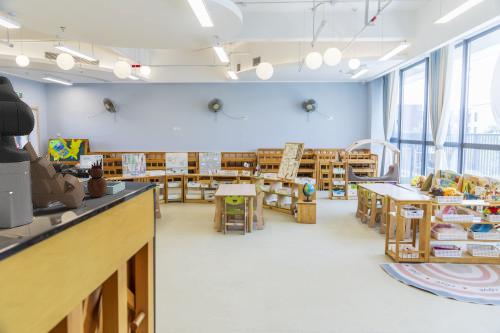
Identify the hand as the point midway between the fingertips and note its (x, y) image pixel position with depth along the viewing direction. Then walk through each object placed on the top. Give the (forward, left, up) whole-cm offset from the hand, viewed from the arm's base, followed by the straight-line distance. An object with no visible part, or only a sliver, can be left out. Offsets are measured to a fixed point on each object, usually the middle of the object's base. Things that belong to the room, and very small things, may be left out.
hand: (94, 173), depth 122 cm
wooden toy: (-15, +4, -7) cm, 18 cm away
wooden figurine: (0, -1, -9) cm, 9 cm away
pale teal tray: (+11, +1, -9) cm, 14 cm away
